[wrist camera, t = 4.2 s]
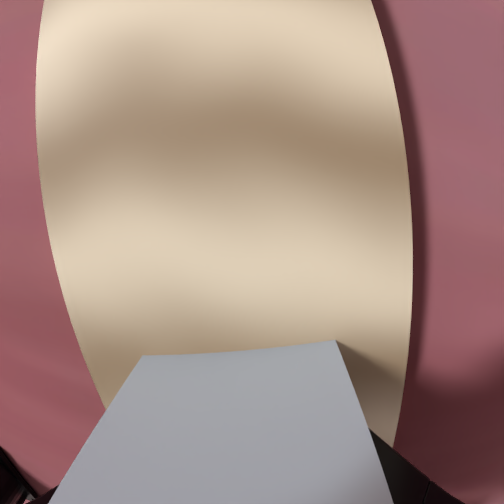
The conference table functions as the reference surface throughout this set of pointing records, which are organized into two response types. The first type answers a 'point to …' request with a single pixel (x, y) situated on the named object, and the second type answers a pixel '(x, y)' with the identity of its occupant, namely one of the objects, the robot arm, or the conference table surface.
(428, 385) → the conference table surface
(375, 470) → the block
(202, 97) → the track
